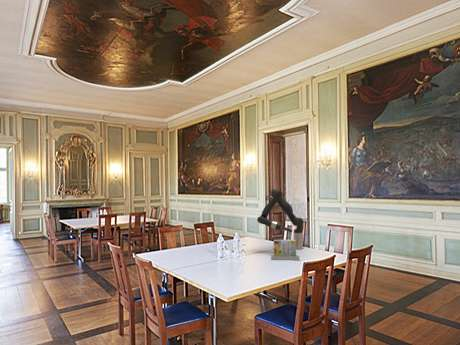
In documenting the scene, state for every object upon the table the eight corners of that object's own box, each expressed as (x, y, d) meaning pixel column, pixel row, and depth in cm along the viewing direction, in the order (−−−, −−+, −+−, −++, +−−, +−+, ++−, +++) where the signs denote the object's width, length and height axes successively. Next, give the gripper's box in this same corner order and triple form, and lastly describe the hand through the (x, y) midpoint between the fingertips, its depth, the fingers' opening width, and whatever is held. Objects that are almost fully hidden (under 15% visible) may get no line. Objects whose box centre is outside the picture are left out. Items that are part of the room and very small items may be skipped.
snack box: (295, 255, 314) (295, 239, 315) (296, 256, 309) (296, 240, 309) (273, 254, 316) (273, 239, 317) (274, 256, 311) (273, 240, 312)
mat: (271, 256, 311) (271, 255, 311) (298, 256, 307) (298, 256, 307) (271, 259, 295) (271, 259, 295) (299, 260, 291) (299, 260, 291)
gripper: (276, 221, 319) (292, 227, 313) (278, 222, 332) (293, 228, 327) (273, 228, 318) (289, 234, 312) (275, 229, 331) (291, 235, 326)
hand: (291, 231), depth 320 cm, fingers open, 8 cm apart
